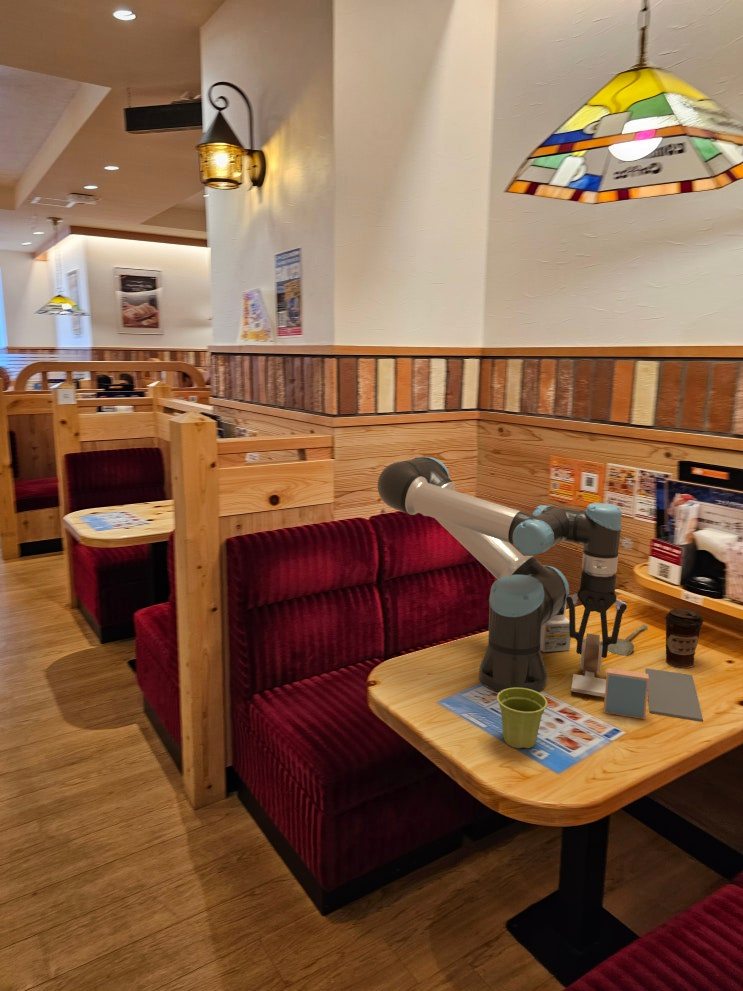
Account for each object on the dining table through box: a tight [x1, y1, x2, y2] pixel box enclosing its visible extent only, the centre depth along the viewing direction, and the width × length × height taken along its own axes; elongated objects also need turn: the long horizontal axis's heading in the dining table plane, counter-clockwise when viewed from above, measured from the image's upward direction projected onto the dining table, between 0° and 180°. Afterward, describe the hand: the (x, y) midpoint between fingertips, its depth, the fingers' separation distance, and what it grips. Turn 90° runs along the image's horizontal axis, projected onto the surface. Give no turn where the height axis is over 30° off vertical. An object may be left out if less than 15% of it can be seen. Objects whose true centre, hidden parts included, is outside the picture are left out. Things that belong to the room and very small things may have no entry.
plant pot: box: [496, 688, 548, 749], centre depth 128 cm, size 9×9×9 cm
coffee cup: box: [664, 607, 704, 668], centre depth 161 cm, size 9×8×13 cm
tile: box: [603, 667, 649, 720], centre depth 138 cm, size 8×2×9 cm, turn 70°
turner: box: [570, 633, 606, 698], centre depth 153 cm, size 7×20×6 cm, turn 160°
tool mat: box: [645, 667, 704, 722], centre depth 147 cm, size 10×21×1 cm, turn 160°
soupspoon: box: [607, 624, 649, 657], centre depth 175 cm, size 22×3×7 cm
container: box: [540, 603, 572, 653], centre depth 170 cm, size 8×8×13 cm
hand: (590, 667), depth 156 cm, fingers closed on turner, 3 cm apart
